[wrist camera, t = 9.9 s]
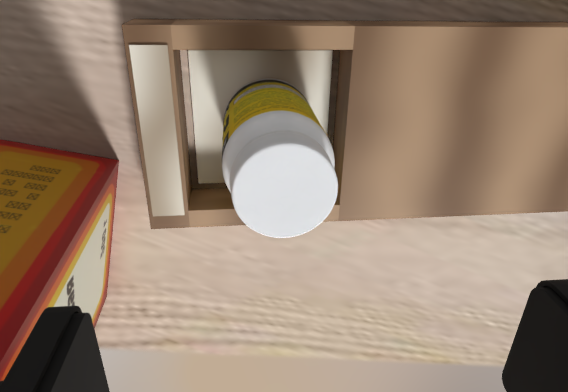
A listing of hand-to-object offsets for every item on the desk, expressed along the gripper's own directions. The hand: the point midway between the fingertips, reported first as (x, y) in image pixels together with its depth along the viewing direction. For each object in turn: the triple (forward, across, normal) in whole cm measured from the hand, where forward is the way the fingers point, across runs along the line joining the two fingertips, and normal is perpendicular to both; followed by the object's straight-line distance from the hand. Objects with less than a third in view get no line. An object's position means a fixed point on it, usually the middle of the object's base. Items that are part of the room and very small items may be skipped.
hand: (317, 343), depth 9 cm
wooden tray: (+16, -6, 0) cm, 17 cm away
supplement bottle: (+16, 0, 0) cm, 16 cm away
